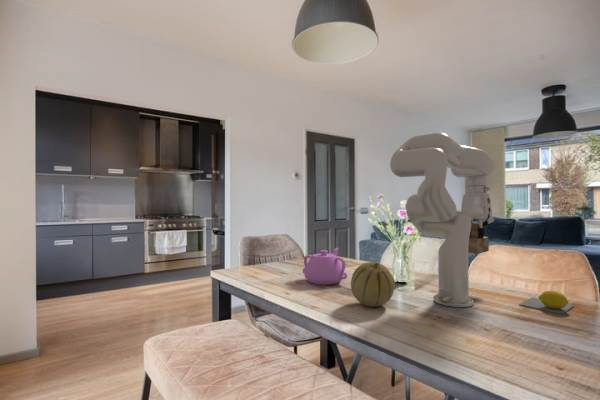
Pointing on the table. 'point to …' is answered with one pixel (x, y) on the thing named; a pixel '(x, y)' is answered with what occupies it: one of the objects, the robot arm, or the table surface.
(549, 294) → the lemon
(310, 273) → the teapot
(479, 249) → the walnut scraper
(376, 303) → the cantaloupe
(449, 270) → the robot arm
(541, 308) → the slate mat
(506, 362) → the table surface
